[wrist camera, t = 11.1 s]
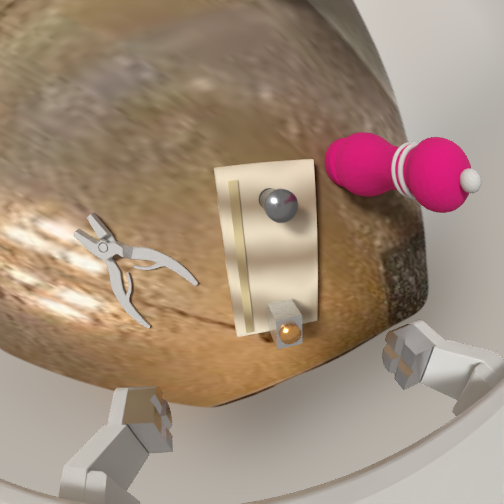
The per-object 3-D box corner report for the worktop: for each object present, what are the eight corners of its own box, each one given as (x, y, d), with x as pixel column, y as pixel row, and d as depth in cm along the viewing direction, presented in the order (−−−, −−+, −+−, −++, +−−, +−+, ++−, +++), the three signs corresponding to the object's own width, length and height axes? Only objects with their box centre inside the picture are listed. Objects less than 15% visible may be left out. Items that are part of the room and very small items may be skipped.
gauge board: (213, 167, 30) (214, 168, 29) (308, 159, 32) (314, 159, 30) (235, 330, 37) (237, 337, 36) (313, 314, 39) (317, 321, 37)
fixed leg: (253, 186, 30) (264, 191, 26) (282, 183, 31) (297, 187, 26) (256, 215, 31) (266, 225, 27) (284, 211, 32) (299, 220, 27)
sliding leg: (265, 300, 34) (277, 323, 29) (288, 295, 35) (303, 318, 30) (267, 326, 36) (279, 352, 31) (289, 322, 36) (303, 346, 31)
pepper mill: (309, 169, 32) (436, 193, 14) (339, 122, 31) (471, 108, 12) (351, 201, 35) (476, 251, 16) (378, 157, 33) (507, 175, 15)
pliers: (146, 333, 34) (58, 253, 28) (147, 326, 35) (63, 249, 30) (199, 285, 33) (107, 193, 27) (199, 279, 34) (111, 191, 29)
